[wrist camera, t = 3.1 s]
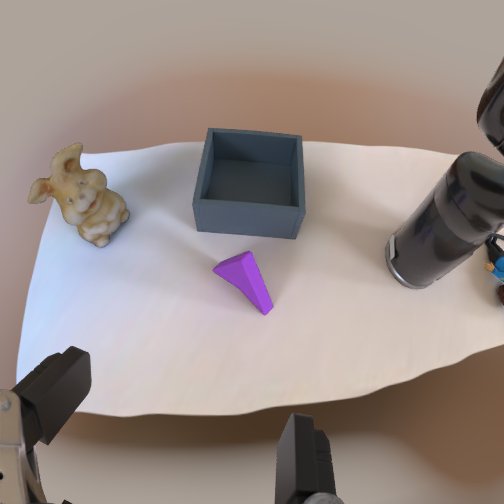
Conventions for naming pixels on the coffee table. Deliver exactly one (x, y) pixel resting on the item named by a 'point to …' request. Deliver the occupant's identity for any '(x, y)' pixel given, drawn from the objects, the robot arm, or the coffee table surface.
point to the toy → (496, 263)
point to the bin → (250, 184)
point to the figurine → (81, 196)
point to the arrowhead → (246, 279)
